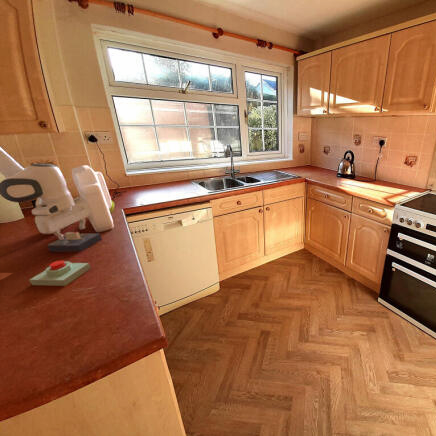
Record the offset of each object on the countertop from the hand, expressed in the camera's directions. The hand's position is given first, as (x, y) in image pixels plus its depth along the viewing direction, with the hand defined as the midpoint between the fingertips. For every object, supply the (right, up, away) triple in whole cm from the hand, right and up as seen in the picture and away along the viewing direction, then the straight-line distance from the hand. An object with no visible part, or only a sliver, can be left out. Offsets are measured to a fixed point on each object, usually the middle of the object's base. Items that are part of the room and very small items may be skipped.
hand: (73, 233), depth 104 cm
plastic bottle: (-23, 0, +17) cm, 28 cm away
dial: (0, -2, 0) cm, 2 cm away
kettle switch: (+14, -10, -21) cm, 28 cm away
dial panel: (0, -5, +2) cm, 5 cm away
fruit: (-13, +9, +37) cm, 40 cm away
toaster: (-3, +3, +22) cm, 23 cm away
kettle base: (+14, -13, -20) cm, 28 cm away
